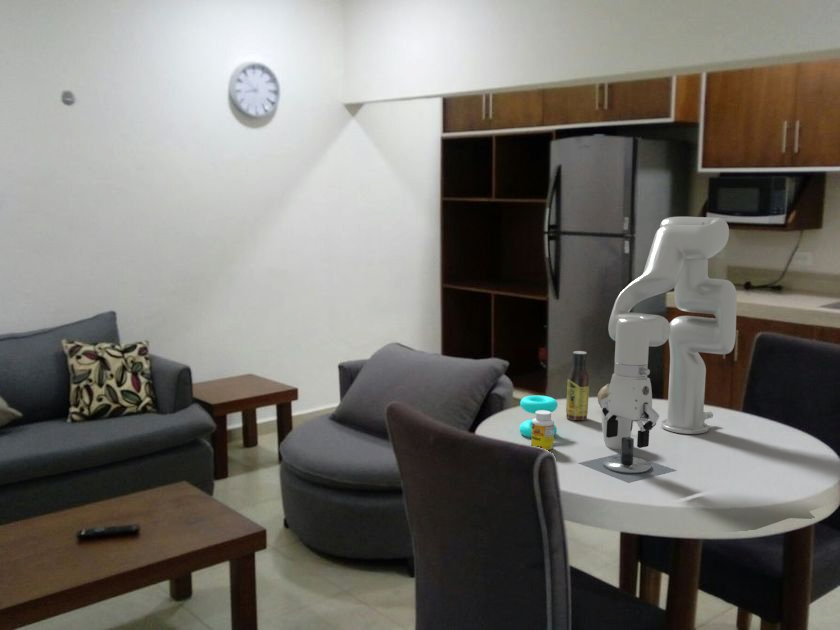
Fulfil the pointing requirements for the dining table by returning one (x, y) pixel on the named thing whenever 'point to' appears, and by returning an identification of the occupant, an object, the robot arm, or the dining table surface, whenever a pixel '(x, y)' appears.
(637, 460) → the lid
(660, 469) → the mat
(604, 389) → the garlic bulb
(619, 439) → the cup
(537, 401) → the donuts
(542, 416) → the supplement bottle
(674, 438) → the dining table surface
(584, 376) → the sauce bottle
